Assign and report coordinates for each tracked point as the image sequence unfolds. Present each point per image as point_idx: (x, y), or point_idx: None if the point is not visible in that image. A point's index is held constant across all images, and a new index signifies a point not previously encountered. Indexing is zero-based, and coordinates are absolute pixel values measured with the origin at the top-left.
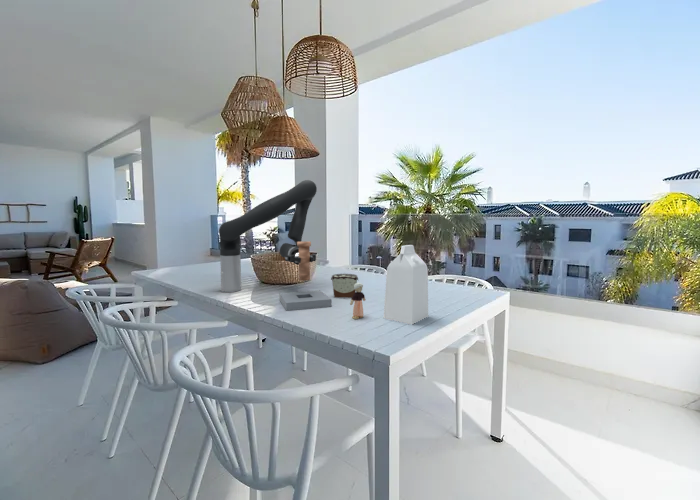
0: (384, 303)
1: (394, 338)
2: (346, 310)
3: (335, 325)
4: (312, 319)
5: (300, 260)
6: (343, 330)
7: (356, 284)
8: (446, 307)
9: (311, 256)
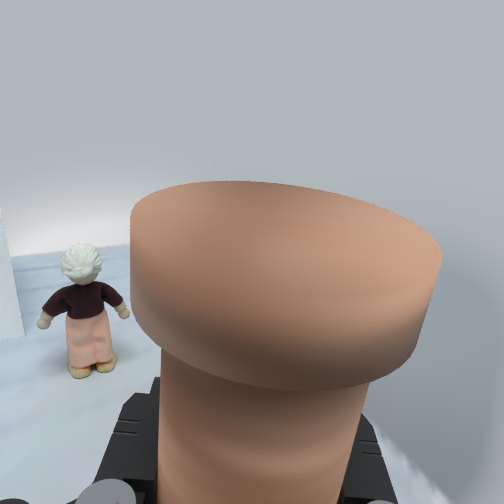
0: (15, 289)
1: (129, 261)
2: (56, 452)
3: None
4: None
5: None
6: None
7: (96, 249)
8: None
9: (98, 491)
